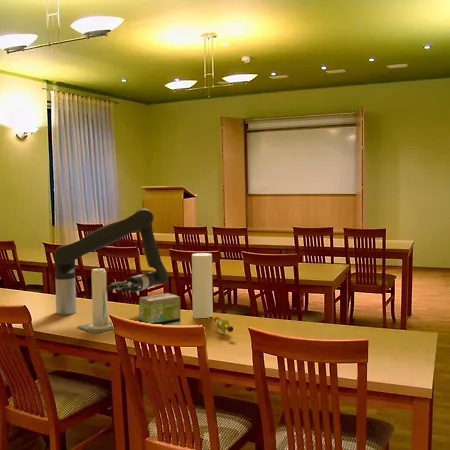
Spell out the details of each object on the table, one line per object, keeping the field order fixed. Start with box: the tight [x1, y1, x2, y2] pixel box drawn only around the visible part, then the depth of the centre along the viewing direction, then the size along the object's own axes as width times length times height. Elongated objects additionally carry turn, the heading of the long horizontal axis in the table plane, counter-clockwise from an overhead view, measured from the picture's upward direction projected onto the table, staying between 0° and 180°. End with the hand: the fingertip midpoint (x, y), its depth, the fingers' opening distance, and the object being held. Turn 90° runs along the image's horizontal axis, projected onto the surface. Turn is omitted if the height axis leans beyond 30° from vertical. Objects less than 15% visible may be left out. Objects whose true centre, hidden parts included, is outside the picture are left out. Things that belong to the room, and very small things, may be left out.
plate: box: [77, 320, 114, 335], centre depth 223 cm, size 14×14×1 cm
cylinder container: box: [191, 252, 214, 319], centre depth 239 cm, size 9×9×30 cm
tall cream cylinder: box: [90, 268, 109, 327], centre depth 222 cm, size 6×6×25 cm
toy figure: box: [213, 316, 234, 335], centre depth 211 cm, size 18×6×7 cm, turn 21°
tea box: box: [138, 292, 181, 326], centre depth 217 cm, size 15×10×15 cm, turn 129°
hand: (114, 289), depth 231 cm, fingers open, 8 cm apart
